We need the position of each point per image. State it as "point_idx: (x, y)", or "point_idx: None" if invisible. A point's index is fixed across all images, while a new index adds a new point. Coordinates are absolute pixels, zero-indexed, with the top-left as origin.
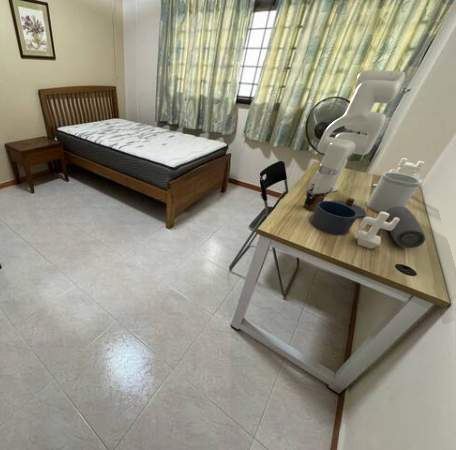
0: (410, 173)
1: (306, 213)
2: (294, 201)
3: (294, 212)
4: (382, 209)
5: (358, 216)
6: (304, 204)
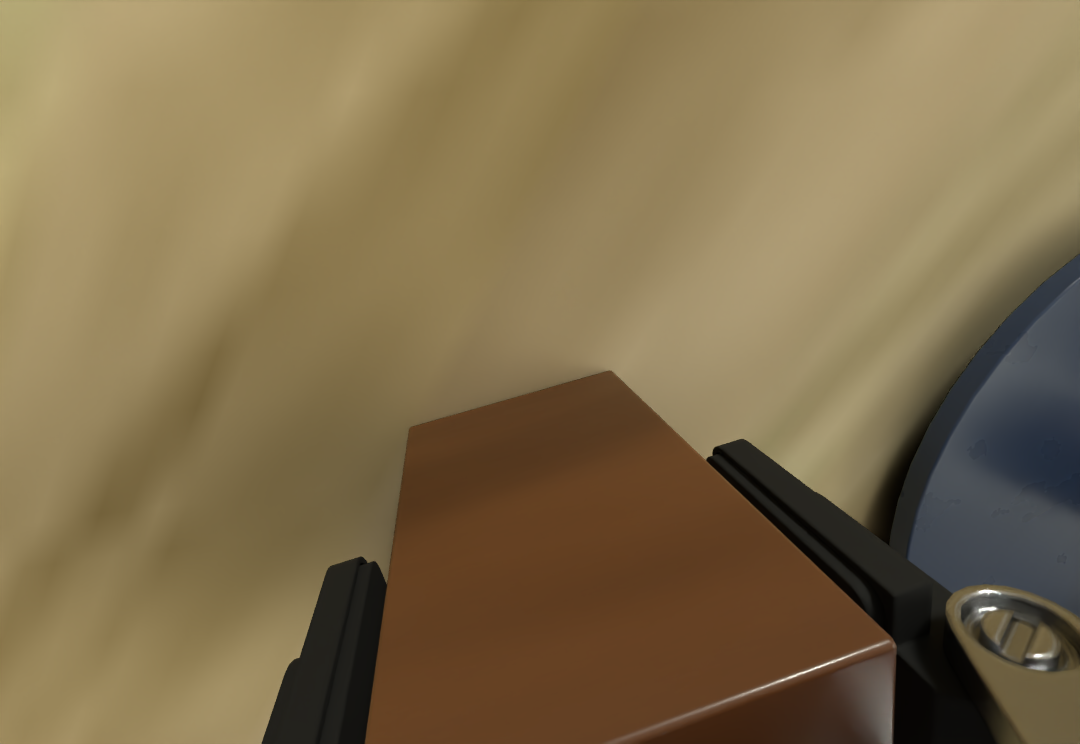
0: None
1: None
2: (264, 161)
3: (61, 714)
4: None
5: None
6: (408, 456)
